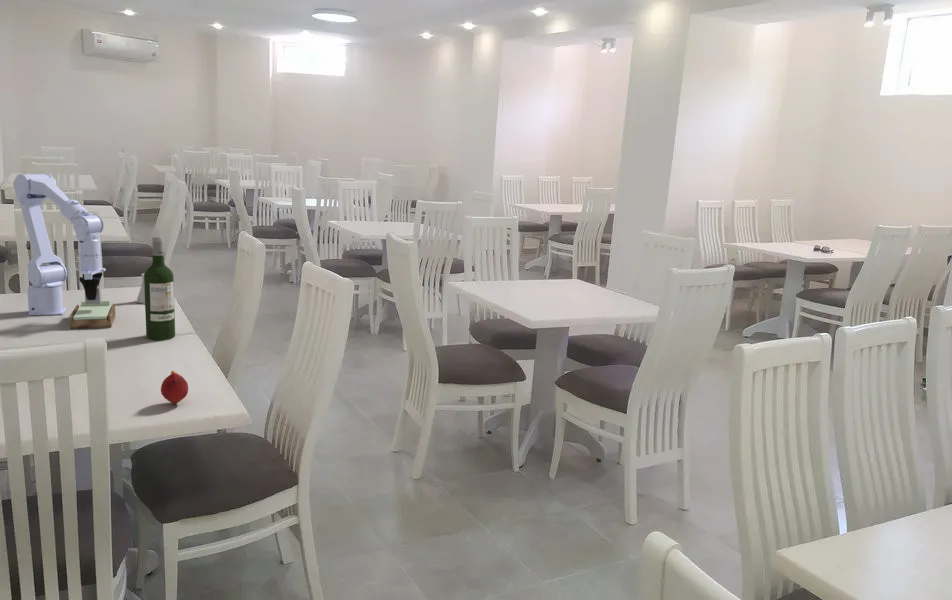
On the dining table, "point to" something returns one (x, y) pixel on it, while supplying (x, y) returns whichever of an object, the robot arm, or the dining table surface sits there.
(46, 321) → the dining table surface
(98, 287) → the block
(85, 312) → the sage lid
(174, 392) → the onion
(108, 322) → the walnut box
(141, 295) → the flask
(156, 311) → the wine bottle
